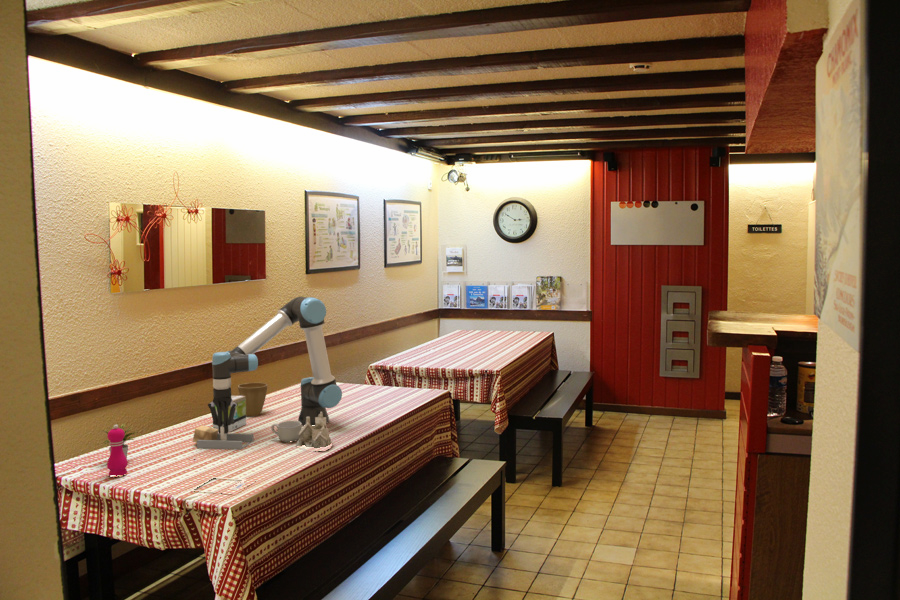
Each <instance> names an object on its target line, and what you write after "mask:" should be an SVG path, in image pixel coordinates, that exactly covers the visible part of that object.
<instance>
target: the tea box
mask: <svg viewBox="0 0 900 600" xmlns="http://www.w3.org/2000/svg"><path fill="white" fill-rule="evenodd" d="M231 398H232V401H233V402H234V403H237V404H238V405H237V407H236V408H235V413H234V418H233V422H232V424H231V425H228V433H232V432H233V431H234V430H236V429H239V428H241V427H242V426H243V427H244V426H246V424H247V416H246V396H240V395H235V394H234V395H232V394H231ZM215 409H216V413H217V416H218V412H217V407H216V406H215ZM230 409H231V404H230V406H229V409H228V419H229V414H230ZM223 425H224V424H223ZM223 425H222V426H223ZM212 428H215V429H218V426H217V425H214V422H213V421H212ZM218 432H219V429H218Z"/></svg>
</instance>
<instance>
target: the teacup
mask: <svg viewBox="0 0 900 600" xmlns="http://www.w3.org/2000/svg"><path fill="white" fill-rule="evenodd" d="M301 424H302V423H301V422H299V421H298V420H285V421H281V422H279V423H273V424H272V425H271V427H270V428H271V431H272V432H273V433H274V434H275V435H277V437H278V439H279V440H280V441H281V442H283V441H284V443H288V442H289V443H291V442H290V441H295V440H297V441H298V440H299V432H300V430H302V425H301ZM275 427H276V429H277V431H276V429H275ZM295 442H296V441H295Z"/></svg>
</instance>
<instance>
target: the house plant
mask: <svg viewBox="0 0 900 600" xmlns="http://www.w3.org/2000/svg"><path fill="white" fill-rule="evenodd" d="M116 425H118V426H119V422H117V423H116ZM126 425H127V423H122V424H121V425H120V426H119V428H120V429H122V430H123V431H124V433H125V436H124V438H123V440H124V441H123V443H124V444H123V446H122V447H123V452H124V455H125V456H126V458H127V459H128V451H129V444H126V442H128V441H134V439H137V438H136V437H134V436H132V435H134V434H135V432H129V431H130V430H131V429H132V428H133V427H134V425H132V426H130V427H128V428H127V429H126V430H124V428H125V427H126ZM107 428H109V429H110V430H111V429H114V428H113V426H110V427H107ZM107 428H105V429H102V430H100V432H102V431H103V432H105V433H106V434H107V435H108V432H109V431H110V430H108V429H107ZM128 432H129V433H128ZM138 433H139V432H136V434H138ZM106 438H107V440H104V441H103V444H104V445H107V444H110V443H109V442H110V440H108V437H107V436H106ZM109 454H111V446H109Z"/></svg>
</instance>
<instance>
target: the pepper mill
mask: <svg viewBox="0 0 900 600" xmlns="http://www.w3.org/2000/svg"><path fill="white" fill-rule="evenodd" d="M112 428H113V429H110V430H108V431H109V432H108V431H107V432H108V434H107V436H106V438H107V437H108V438H107V440H108V441H110V442H109V443H108V445H109V447H111V454H110V453H109V454H110V455H109V457H108V459H107V463H106V468H107V469H108V476H109V475H116V476H117V475H124V474H126V473H128V469H126V468H127V466H128V464H129V463H128V461H129V460H128V457H127V458H126V456H125V455H124V452H123V447H122V446H123V444H125V442H124V443H123V441H124V440H123V438H124V436H125V435H126V433H124V432H125V430H124V429H123V430H122V429H120V427H119V424H118V425H117V423H116V424H114V425H113V426H112Z"/></svg>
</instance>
